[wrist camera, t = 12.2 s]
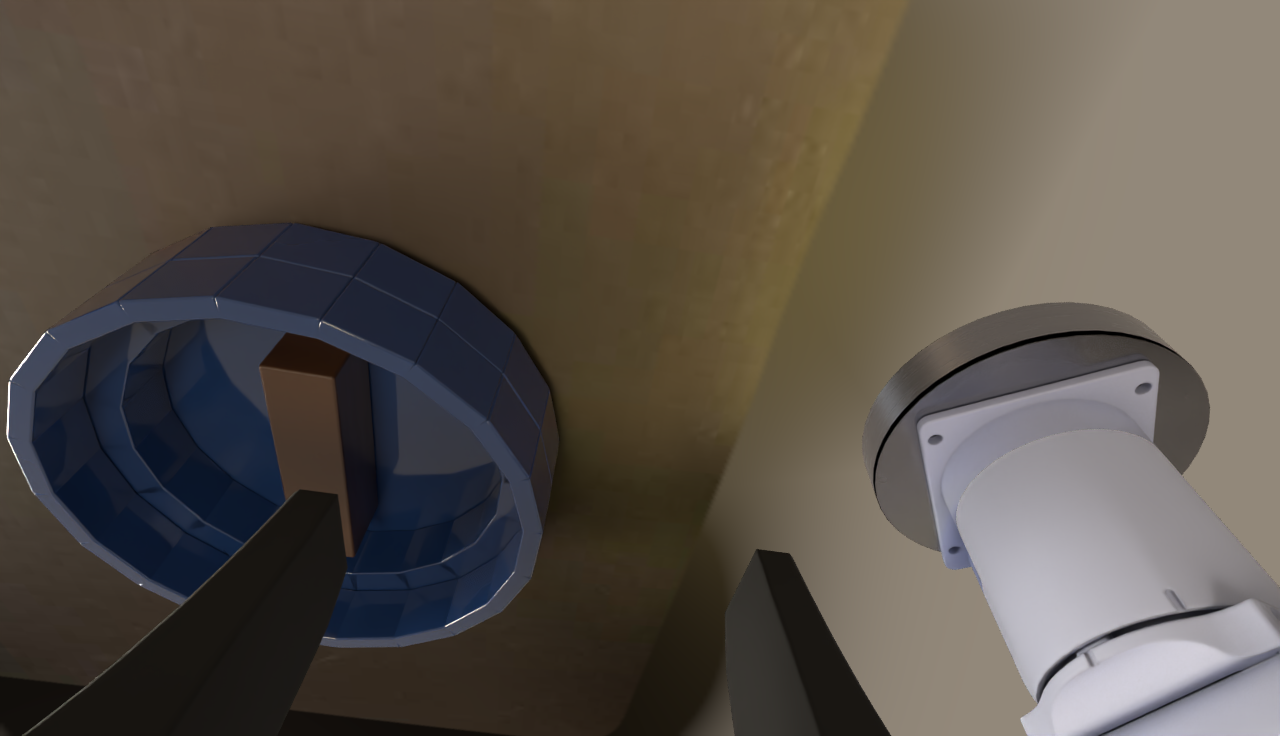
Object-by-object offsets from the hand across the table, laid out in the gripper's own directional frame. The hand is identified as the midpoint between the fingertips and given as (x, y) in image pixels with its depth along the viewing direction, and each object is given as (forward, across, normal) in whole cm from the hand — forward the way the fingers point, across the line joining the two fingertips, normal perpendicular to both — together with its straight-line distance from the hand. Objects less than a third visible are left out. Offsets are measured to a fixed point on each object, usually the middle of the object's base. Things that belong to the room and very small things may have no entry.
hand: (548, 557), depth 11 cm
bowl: (+10, +7, +6) cm, 14 cm away
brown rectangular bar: (+9, +7, +6) cm, 13 cm away
